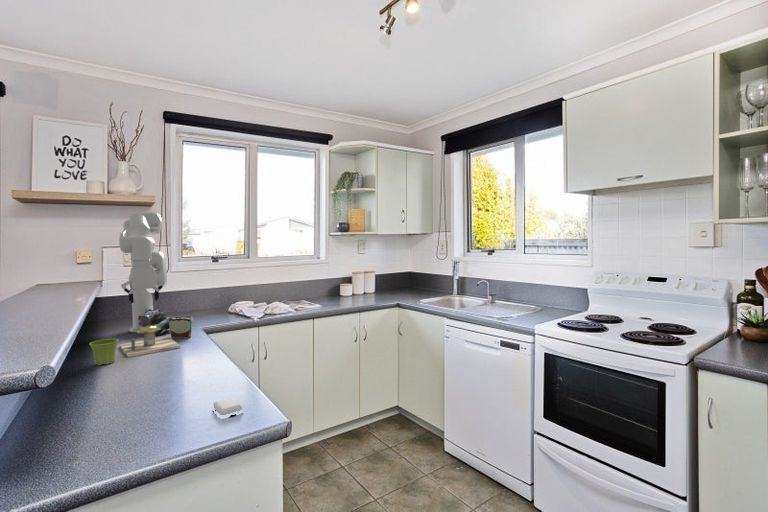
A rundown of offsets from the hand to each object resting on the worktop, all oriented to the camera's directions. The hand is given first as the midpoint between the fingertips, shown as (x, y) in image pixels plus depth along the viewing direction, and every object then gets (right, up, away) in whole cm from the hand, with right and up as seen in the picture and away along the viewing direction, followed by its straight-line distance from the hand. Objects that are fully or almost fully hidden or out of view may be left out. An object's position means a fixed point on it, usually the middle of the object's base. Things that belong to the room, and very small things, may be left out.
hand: (144, 301), depth 185 cm
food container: (+11, -19, +15) cm, 27 cm away
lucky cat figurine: (-7, -19, +23) cm, 31 cm away
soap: (+65, -24, -71) cm, 99 cm away
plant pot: (0, -22, -26) cm, 34 cm away
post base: (+5, -20, -4) cm, 21 cm away
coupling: (+3, -13, -2) cm, 13 cm away
